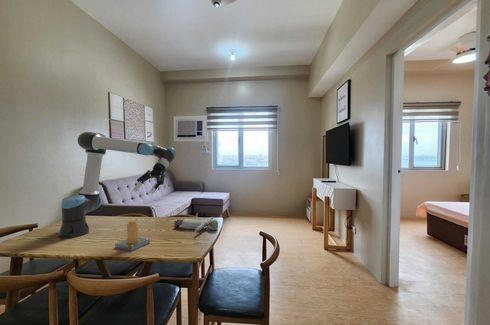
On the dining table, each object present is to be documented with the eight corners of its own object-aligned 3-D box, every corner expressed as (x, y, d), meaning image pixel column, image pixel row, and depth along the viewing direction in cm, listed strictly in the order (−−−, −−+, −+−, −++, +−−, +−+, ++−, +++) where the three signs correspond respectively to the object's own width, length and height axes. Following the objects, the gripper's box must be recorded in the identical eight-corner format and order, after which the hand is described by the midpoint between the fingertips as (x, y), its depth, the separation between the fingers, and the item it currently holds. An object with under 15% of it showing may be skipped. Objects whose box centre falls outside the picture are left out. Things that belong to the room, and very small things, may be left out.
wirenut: (125, 242, 121) (124, 222, 120) (133, 239, 125) (133, 220, 125) (132, 243, 118) (131, 223, 118) (140, 240, 123) (140, 221, 123)
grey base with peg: (115, 247, 119) (114, 230, 118) (134, 239, 130) (133, 224, 129) (131, 251, 114) (131, 233, 114) (149, 242, 125) (149, 226, 125)
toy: (164, 235, 138) (209, 239, 132) (163, 224, 138) (209, 227, 132) (186, 221, 167) (224, 223, 161) (186, 212, 167) (224, 214, 161)
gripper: (178, 170, 146) (161, 197, 133) (150, 169, 156) (131, 193, 142) (173, 162, 141) (155, 189, 128) (143, 161, 151) (124, 186, 137)
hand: (142, 191), depth 135 cm, fingers open, 13 cm apart
